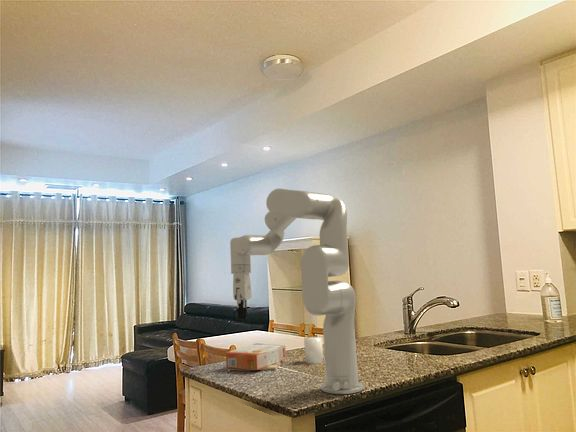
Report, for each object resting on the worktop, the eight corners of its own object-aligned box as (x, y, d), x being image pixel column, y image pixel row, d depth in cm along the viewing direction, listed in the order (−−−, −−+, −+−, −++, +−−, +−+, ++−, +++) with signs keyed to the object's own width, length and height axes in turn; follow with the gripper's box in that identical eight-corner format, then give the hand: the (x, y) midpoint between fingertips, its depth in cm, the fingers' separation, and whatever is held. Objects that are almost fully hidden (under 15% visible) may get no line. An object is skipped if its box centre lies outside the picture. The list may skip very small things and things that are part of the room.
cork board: (275, 370, 158) (275, 368, 158) (227, 371, 160) (227, 369, 160) (282, 361, 173) (282, 359, 173) (238, 362, 176) (238, 360, 176)
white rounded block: (322, 363, 166) (321, 339, 167) (304, 363, 167) (303, 339, 168) (323, 359, 172) (322, 336, 174) (306, 360, 173) (305, 337, 175)
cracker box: (256, 371, 154) (286, 359, 172) (256, 354, 155) (286, 343, 173) (225, 368, 161) (257, 357, 179) (225, 352, 162) (257, 342, 180)
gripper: (245, 269, 158) (247, 320, 156) (254, 269, 173) (256, 316, 170) (225, 270, 159) (227, 321, 157) (236, 270, 174) (238, 317, 172)
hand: (242, 318), depth 164 cm, fingers closed
